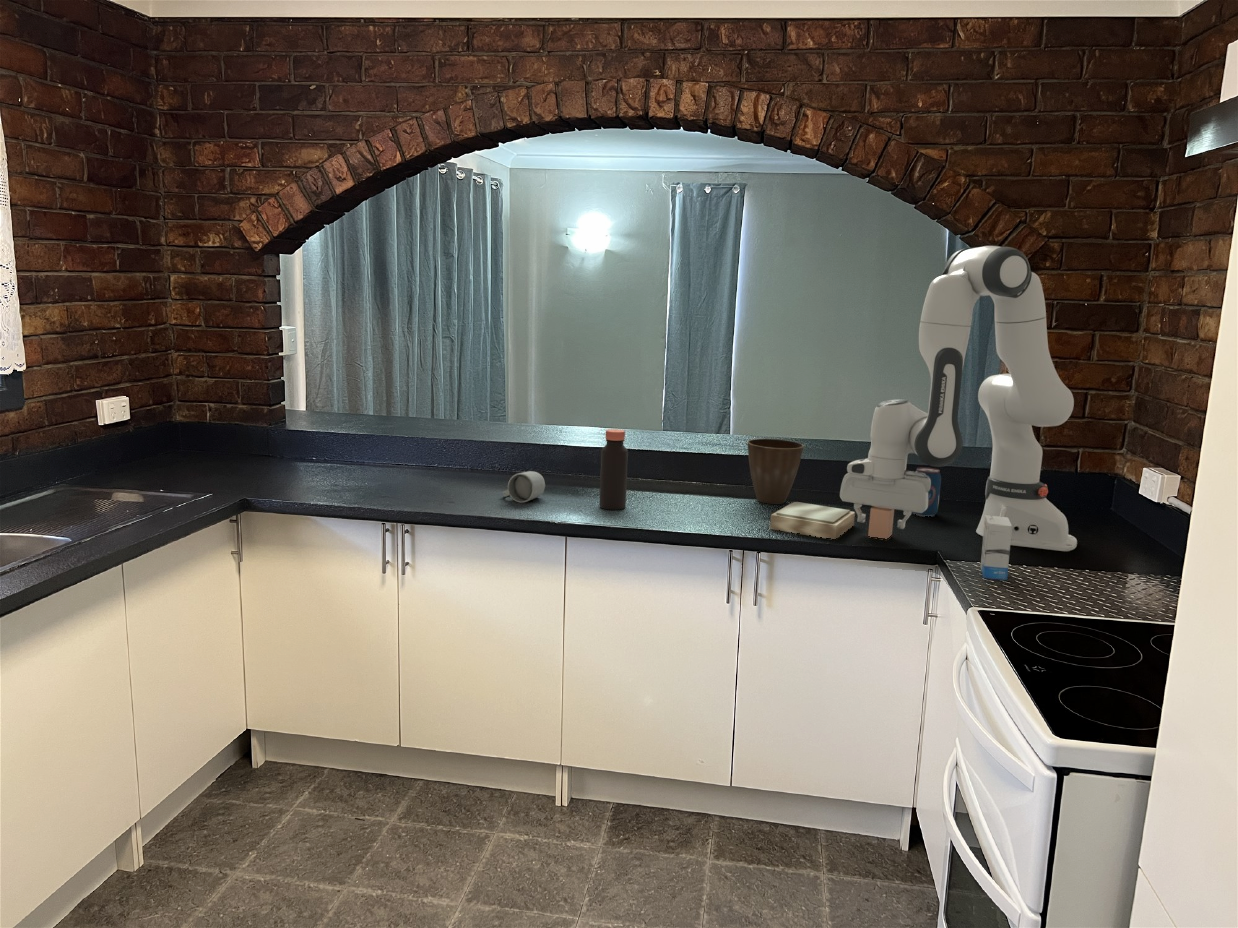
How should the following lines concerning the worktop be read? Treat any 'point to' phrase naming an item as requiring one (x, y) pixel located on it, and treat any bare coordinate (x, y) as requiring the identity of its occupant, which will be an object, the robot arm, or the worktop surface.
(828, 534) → the plinth
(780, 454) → the plant pot
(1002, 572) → the ink box
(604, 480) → the bottle
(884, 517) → the terracotta block
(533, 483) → the ceramic mug
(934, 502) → the soda can
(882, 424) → the robot arm
